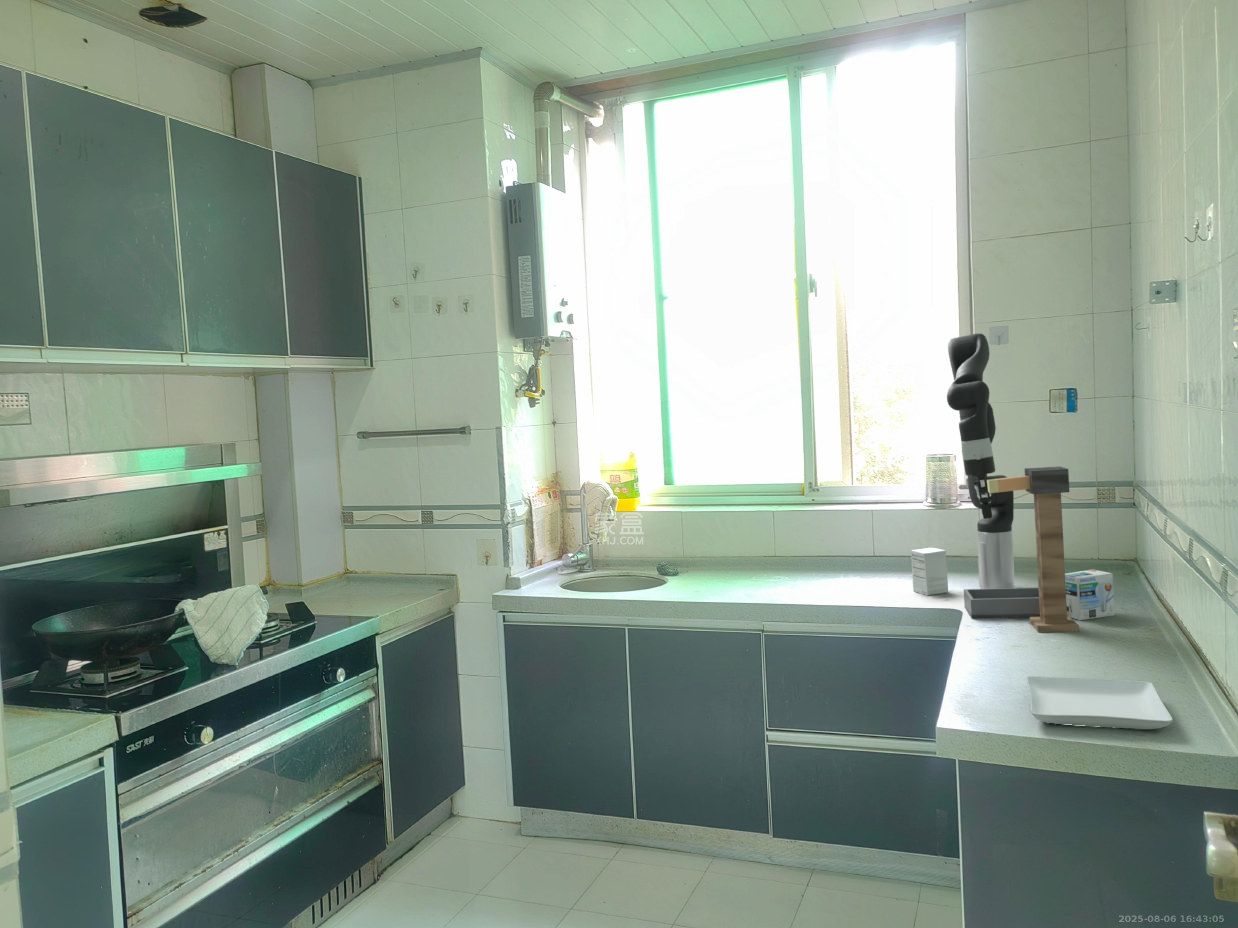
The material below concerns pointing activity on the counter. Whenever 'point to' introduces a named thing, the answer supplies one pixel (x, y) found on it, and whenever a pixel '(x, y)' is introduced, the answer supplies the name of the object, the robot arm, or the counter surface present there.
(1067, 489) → the stand
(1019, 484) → the tan wooden bar
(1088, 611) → the light bulb box
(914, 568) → the supplement box
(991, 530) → the robot arm
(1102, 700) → the salad plate
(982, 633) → the counter surface
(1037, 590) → the tray
